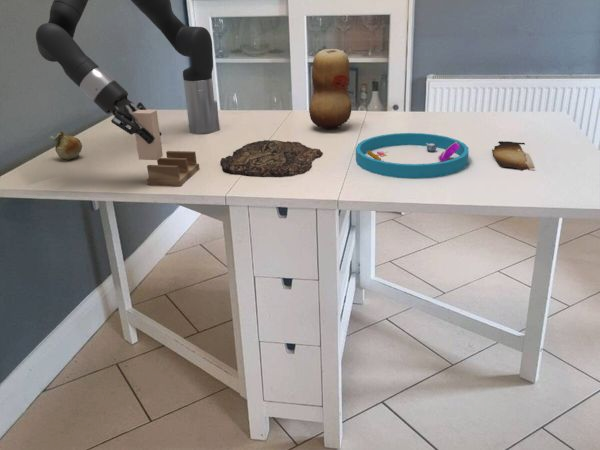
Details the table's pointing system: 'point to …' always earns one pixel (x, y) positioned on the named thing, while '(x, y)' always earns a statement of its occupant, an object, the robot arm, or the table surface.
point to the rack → (173, 169)
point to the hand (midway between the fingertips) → (155, 138)
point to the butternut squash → (330, 89)
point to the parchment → (512, 156)
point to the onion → (67, 146)
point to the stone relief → (270, 159)
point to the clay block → (151, 125)
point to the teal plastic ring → (412, 169)
